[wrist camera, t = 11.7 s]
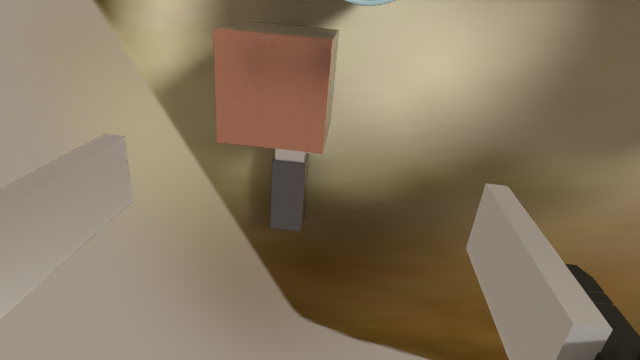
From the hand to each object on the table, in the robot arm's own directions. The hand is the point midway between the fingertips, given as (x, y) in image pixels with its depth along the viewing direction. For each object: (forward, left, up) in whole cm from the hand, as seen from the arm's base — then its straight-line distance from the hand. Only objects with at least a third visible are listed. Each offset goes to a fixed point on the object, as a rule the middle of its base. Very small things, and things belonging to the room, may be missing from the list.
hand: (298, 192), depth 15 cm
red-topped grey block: (+2, -3, -19) cm, 20 cm away
